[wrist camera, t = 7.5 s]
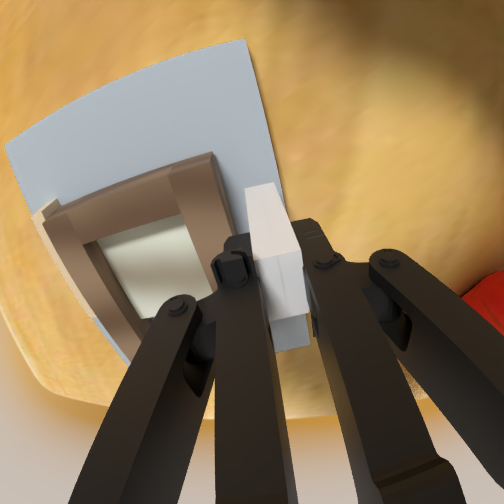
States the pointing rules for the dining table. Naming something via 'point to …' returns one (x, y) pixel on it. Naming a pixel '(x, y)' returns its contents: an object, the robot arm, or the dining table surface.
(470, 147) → the dining table surface
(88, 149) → the wall panel
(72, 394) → the dining table surface
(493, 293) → the tomato
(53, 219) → the walnut frame
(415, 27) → the dining table surface
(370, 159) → the dining table surface
